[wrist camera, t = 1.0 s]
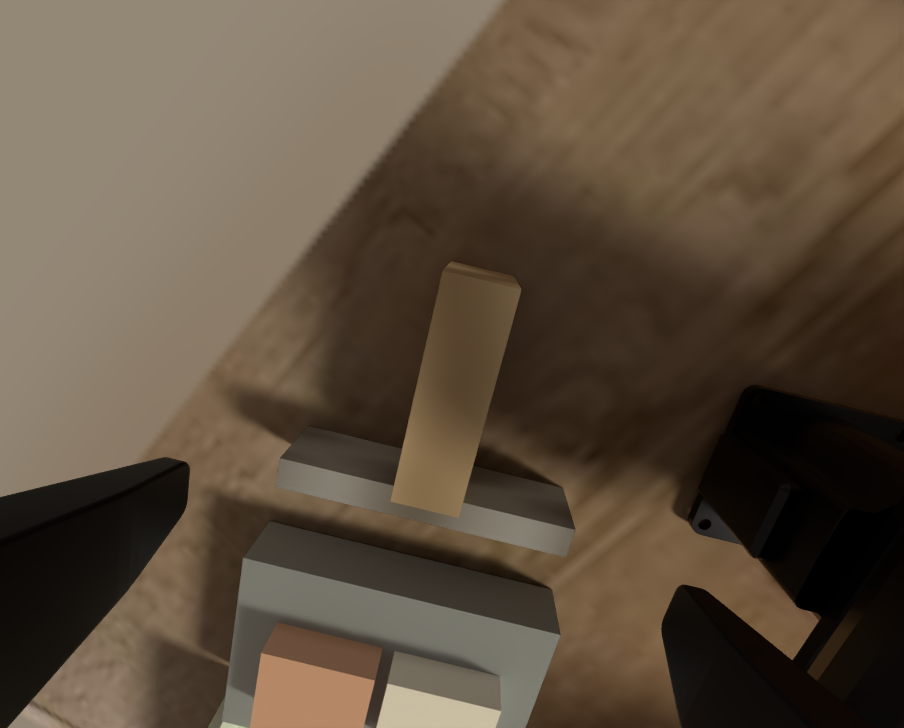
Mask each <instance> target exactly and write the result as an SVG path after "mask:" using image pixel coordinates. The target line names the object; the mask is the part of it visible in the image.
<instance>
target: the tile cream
mask: <svg viewBox="0 0 904 728" xmlns="http://www.w3.org/2000/svg"><path fill="white" fill-rule="evenodd" d="M500 714H501V687H500V676H497V675H492V674H488V673H484V672H480V671H476V670H472V669H468V668H464V667H459V666H455V665H451V664H447V663H443V662H439V661H435V660H431V659H426V658H422V657H418V656H414V655H410V654H406V653H402V652H398V651H394V655H393V659H392V663H391V667H390V671H389V675H388V679H387V683H386V687H385V691H384V694H383V698H382V702H381V706H380V710H379V714H378V718H377V722H376V726H375V728H496V725H497V722H498V719H499V716H500Z"/></svg>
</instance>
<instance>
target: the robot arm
mask: <svg viewBox="0 0 904 728" xmlns="http://www.w3.org/2000/svg"><path fill="white" fill-rule="evenodd" d="M758 395H761V400H760V401H759V402H757V403H755V404H753V399H754V398H755V397H756V396H758ZM899 431H901V433H900V434H899V436H897V437H895V436H896V434H897V433H898V432H899ZM189 476H190V467H189V465H188V464H187V462H184V461H180V460H176V459H172V458H168V457H163V458H159V459H155V460H151V461H146V462H142V463H138V464H134V465H130V466H126V467H122V468H118V469H114V470H110V471H105V472H101V473H97V474H93V475H89V476H85V477H81V478H77V479H73V480H69V481H65V482H60V483H56V484H52V485H48V486H44V487H40V488H36V489H32V490H28V491H24V492H19V493H15V494H11V495H7V496H3V497H0V728H8V727H9V725H10V724H11V723H12V722H13V721H14V720H15V719H16V717H17V716H18V715H19V714H20V713H21V712H22V711H23V709H24V708H25V707H26V706H27V705H28V704H29V703H30V702H31V700H32V699H33V698H34V697H35V696H36V695H37V694H38V692H39V691H40V690H41V689H42V688H43V687H44V686H45V684H46V683H47V682H48V681H49V680H50V679H51V678H52V676H53V675H54V674H55V673H56V672H57V671H58V670H59V668H60V667H61V666H62V665H63V664H64V663H65V662H66V661H67V659H68V658H69V657H70V656H71V655H72V654H73V653H74V651H75V650H76V649H77V648H78V647H79V646H80V645H81V643H82V642H83V641H84V640H85V639H86V638H87V637H88V635H89V634H90V633H91V632H92V631H93V630H94V629H95V627H96V626H97V625H98V624H99V623H100V622H101V621H102V620H103V618H104V617H105V616H106V615H107V614H108V613H109V612H110V610H111V609H112V608H113V607H114V606H115V605H116V604H117V602H118V601H119V600H120V599H121V598H122V597H123V595H124V594H125V593H126V592H127V591H128V589H129V588H130V587H131V585H132V584H133V583H134V581H135V580H136V579H137V578H138V576H139V575H140V573H141V572H142V571H143V569H144V568H145V566H146V565H147V564H148V562H149V561H150V559H151V558H152V557H153V555H154V554H155V553H156V551H157V550H158V548H159V547H160V546H161V544H162V543H163V541H164V540H165V539H166V537H167V536H168V534H169V533H170V532H171V530H172V529H173V527H174V526H175V525H176V523H177V522H178V521H179V519H180V518H181V516H182V515H183V513H184V511H185V508H186V505H187V500H188V488H189ZM698 489H699V494H698V496H697V498H696V501H695V503H694V505H693V507H692V510H691V512H690V514H689V518H688V522H689V524H690V526H691V527H692V529H693V530H694V531H695V532H696V533H698V534H700V535H703V536H708V537H712V538H716V539H720V540H724V541H728V542H732V543H736V544H740V545H742V546H743V547H744V548H745V549H746V551H747V552H748V553H749V554H750V556H752V557H753V558H756V559H758V560H759V561H760V562H761V563H762V565H763V566H764V567H765V568H766V570H767V571H768V572H769V573H770V574H771V576H772V577H773V578H774V579H775V581H776V582H777V583H778V584H779V585H780V587H781V588H782V589H783V590H784V592H785V593H786V594H787V595H788V596H789V598H790V599H791V600H792V601H793V602H794V604H795V605H796V606H797V607H798V608H800V609H803V610H807V611H811V612H812V613H813V614H814V615H815V616H816V618H817V619H818V620H819V622H818V623H817V625H816V626H815V628H814V629H813V631H812V632H811V634H810V635H809V637H808V638H807V640H806V641H805V643H804V644H803V646H802V647H801V649H800V650H799V652H798V653H797V655H796V656H795V658H794V659H793V660H791V659H790V658H789V657H787V656H786V655H785V654H784V653H782V652H781V651H780V650H779V649H777V648H776V647H775V646H774V645H773V644H771V643H770V642H769V641H768V640H766V639H765V638H764V637H763V636H762V635H760V634H759V633H758V632H757V631H755V630H754V629H753V628H752V627H750V626H749V625H748V624H747V623H746V622H744V621H743V620H742V619H741V618H739V617H738V616H737V615H736V614H735V613H733V612H732V611H731V610H730V609H728V608H727V607H726V606H725V605H723V604H722V603H721V602H720V601H719V600H717V599H716V598H715V597H714V596H712V595H711V594H710V593H709V592H707V591H706V590H704V589H701V588H697V587H693V586H689V585H681V586H679V587H678V588H677V589H676V591H675V593H674V595H673V598H672V600H671V602H670V604H669V607H668V609H667V611H666V613H665V616H664V618H663V621H662V628H661V629H662V638H663V643H664V648H665V653H666V658H667V663H668V668H669V673H670V678H671V683H672V688H673V693H674V698H675V703H676V708H677V712H678V717H679V721H680V725H681V728H904V421H902V420H899V419H895V418H891V417H887V416H883V415H879V414H875V413H871V412H867V411H863V410H858V409H854V408H850V407H846V406H842V405H838V404H834V403H830V402H826V401H822V400H818V399H813V398H809V397H805V396H801V395H797V394H793V393H789V392H785V391H781V390H777V389H773V388H768V387H764V386H760V385H753V386H750V387H748V388H747V389H745V390H744V392H743V393H742V395H741V397H740V399H739V402H738V404H737V406H736V408H735V411H734V413H733V415H732V418H731V420H730V422H729V425H728V427H727V429H726V431H725V433H724V434H722V435H721V436H720V438H719V441H718V443H717V445H716V448H715V450H714V452H713V455H712V457H711V459H710V462H709V464H708V466H707V469H706V471H705V473H704V475H703V478H702V480H701V482H700V485H699V487H698ZM703 519H707V520H706V522H705V523H703V524H699V522H700V521H701V520H703Z"/></svg>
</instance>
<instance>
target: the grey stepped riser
mask: <svg viewBox="0 0 904 728" xmlns="http://www.w3.org/2000/svg"><path fill="white" fill-rule="evenodd" d="M277 622H278V623H282V624H286V625H290V626H295V627H299V628H303V629H307V630H311V631H315V632H319V633H323V634H328V635H332V636H336V637H340V638H344V639H348V640H352V641H356V642H361V643H365V644H369V645H373V646H377V647H381V648H383V650H382V654H381V658H380V662H379V666H378V670H377V674H376V679H375V683H374V687H373V691H372V695H371V699H370V703H369V707H368V711H367V715H366V719H365V723H364V728H375V726H376V722H377V718H378V714H379V710H380V706H381V702H382V698H383V694H384V691H385V687H386V683H387V679H388V675H389V671H390V667H391V663H392V659H393V655H394V651H398V652H402V653H406V654H410V655H414V656H418V657H422V658H426V659H431V660H435V661H439V662H443V663H447V664H451V665H455V666H459V667H464V668H468V669H472V670H476V671H480V672H484V673H488V674H492V675H497V676H500V687H501V714H500V716H499V719H498V722H497V725H496V728H526V725H527V723H528V720H529V717H530V715H531V712H532V709H533V707H534V704H535V701H536V699H537V696H538V693H539V691H540V688H541V685H542V683H543V680H544V677H545V675H546V672H547V669H548V667H549V664H550V661H551V659H552V656H553V654H554V651H555V648H556V646H557V643H558V640H559V638H560V630H559V624H558V619H557V614H556V608H555V603H554V597H553V592H552V590H551V589H547V588H543V587H539V586H535V585H531V584H527V583H523V582H518V581H514V580H510V579H506V578H502V577H498V576H494V575H490V574H486V573H481V572H477V571H473V570H469V569H465V568H461V567H457V566H453V565H449V564H444V563H440V562H436V561H432V560H428V559H424V558H420V557H416V556H412V555H407V554H403V553H399V552H395V551H391V550H387V549H383V548H379V547H375V546H370V545H366V544H362V543H358V542H354V541H350V540H346V539H342V538H338V537H333V536H329V535H325V534H321V533H317V532H313V531H309V530H305V529H301V528H296V527H292V526H288V525H284V524H280V523H276V522H272V521H270V522H269V523H268V524H267V526H266V527H265V529H264V530H263V531H262V533H261V534H260V535H259V537H258V538H257V540H256V541H255V542H254V544H253V545H252V546H251V548H250V549H249V551H248V552H247V553H246V555H245V556H244V557H243V563H242V571H241V579H240V586H239V594H238V602H237V609H236V617H235V625H234V633H233V640H232V648H231V656H230V663H229V671H228V679H227V686H226V694H225V702H224V710H223V717H222V722H226V723H230V724H234V725H238V726H242V727H247V728H250V723H251V716H252V710H253V703H254V697H255V690H256V684H257V677H258V670H259V664H260V657H261V652H262V650H263V649H264V647H265V645H266V643H267V641H268V639H269V637H270V635H271V633H272V631H273V629H274V628H275V626H276V624H277Z"/></svg>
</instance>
